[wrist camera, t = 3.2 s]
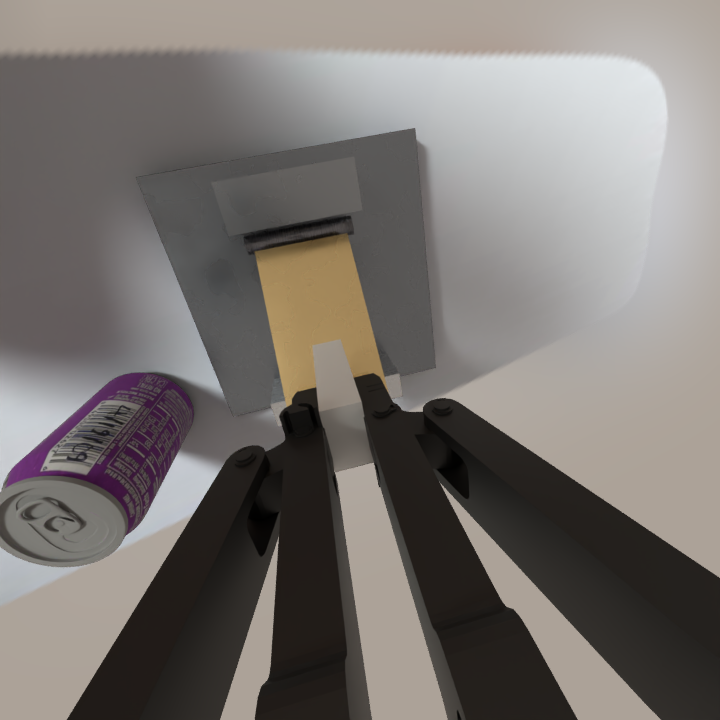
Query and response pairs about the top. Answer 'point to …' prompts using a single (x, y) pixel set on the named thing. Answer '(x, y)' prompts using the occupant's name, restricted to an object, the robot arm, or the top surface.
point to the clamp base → (287, 209)
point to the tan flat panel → (313, 299)
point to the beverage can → (94, 473)
